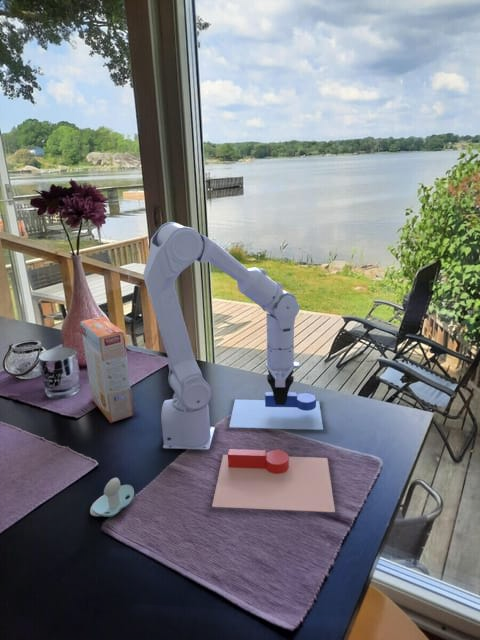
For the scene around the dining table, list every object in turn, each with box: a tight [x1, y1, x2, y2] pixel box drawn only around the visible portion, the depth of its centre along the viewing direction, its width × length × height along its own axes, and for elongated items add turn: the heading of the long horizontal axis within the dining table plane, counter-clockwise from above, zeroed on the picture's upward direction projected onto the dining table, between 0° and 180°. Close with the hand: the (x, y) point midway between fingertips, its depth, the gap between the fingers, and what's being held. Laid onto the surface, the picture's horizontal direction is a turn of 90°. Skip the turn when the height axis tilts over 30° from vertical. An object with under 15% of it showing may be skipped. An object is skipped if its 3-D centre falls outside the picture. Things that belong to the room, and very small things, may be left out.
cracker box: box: [80, 316, 134, 424], centre depth 102 cm, size 14×6×21 cm, turn 34°
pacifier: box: [89, 477, 135, 518], centre depth 73 cm, size 7×6×6 cm
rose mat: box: [211, 454, 336, 513], centre depth 78 cm, size 20×14×1 cm
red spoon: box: [227, 448, 290, 474], centre depth 82 cm, size 11×4×3 cm, turn 85°
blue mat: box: [228, 399, 324, 431], centre depth 99 cm, size 20×12×1 cm, turn 85°
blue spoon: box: [264, 391, 317, 411], centre depth 98 cm, size 11×4×3 cm, turn 85°
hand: (280, 401), depth 98 cm, fingers closed on blue spoon, 2 cm apart
